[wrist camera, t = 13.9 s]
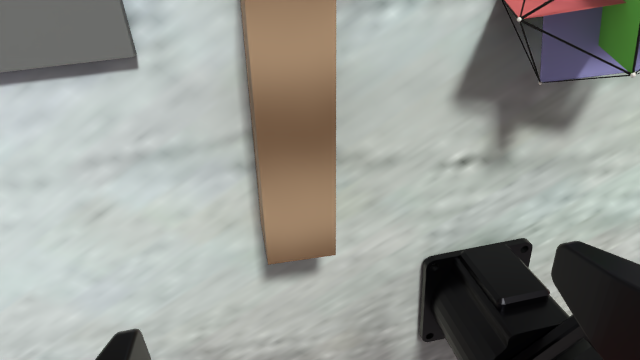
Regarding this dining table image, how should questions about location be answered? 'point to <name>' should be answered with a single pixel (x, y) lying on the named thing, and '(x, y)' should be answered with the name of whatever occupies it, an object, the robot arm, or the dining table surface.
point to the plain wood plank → (293, 123)
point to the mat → (62, 33)
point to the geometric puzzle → (583, 37)
